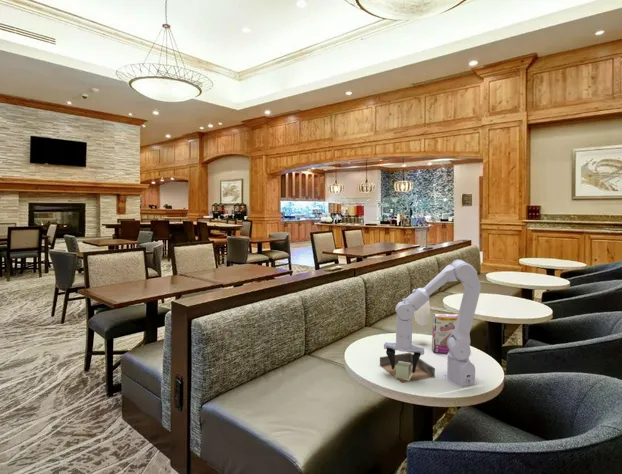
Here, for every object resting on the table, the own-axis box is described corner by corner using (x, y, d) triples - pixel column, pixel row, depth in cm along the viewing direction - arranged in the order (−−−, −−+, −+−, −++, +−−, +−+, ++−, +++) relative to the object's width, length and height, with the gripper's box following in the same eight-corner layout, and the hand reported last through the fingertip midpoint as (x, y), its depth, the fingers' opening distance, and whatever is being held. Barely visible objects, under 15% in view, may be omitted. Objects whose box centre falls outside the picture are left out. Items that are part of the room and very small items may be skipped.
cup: (411, 342, 179) (411, 298, 177) (426, 341, 179) (426, 298, 177) (416, 347, 172) (416, 302, 170) (431, 347, 172) (432, 302, 170)
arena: (434, 378, 141) (434, 368, 141) (400, 384, 136) (401, 374, 136) (409, 361, 156) (410, 352, 156) (378, 367, 151) (379, 357, 151)
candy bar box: (434, 353, 165) (434, 316, 163) (431, 349, 170) (432, 313, 168) (460, 354, 164) (461, 317, 162) (457, 350, 169) (458, 313, 167)
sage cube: (410, 374, 143) (410, 362, 142) (408, 379, 139) (408, 367, 138) (398, 372, 145) (399, 360, 144) (395, 377, 141) (396, 365, 140)
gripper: (381, 335, 140) (381, 370, 141) (422, 340, 134) (421, 378, 135) (386, 329, 146) (386, 363, 147) (425, 334, 140) (424, 370, 141)
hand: (403, 370), depth 142 cm, fingers open, 7 cm apart
